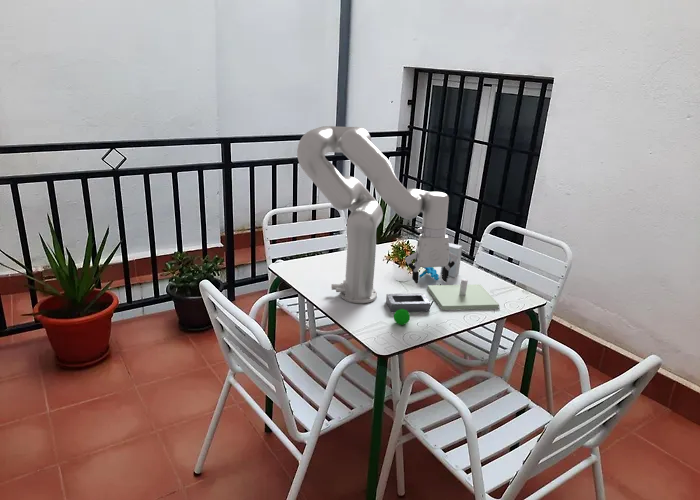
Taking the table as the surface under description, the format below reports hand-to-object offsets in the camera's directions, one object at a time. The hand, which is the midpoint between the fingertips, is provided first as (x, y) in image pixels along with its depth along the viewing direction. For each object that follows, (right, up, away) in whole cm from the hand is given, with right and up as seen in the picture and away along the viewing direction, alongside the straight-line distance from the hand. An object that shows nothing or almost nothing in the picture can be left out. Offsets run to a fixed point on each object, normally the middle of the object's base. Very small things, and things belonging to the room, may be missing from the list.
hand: (429, 281), depth 161 cm
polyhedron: (-10, -13, -8) cm, 18 cm away
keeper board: (+13, -7, +11) cm, 18 cm away
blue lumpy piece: (+4, -1, +26) cm, 27 cm away
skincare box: (+13, 0, +31) cm, 33 cm away
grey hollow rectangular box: (-7, -9, +3) cm, 12 cm away
